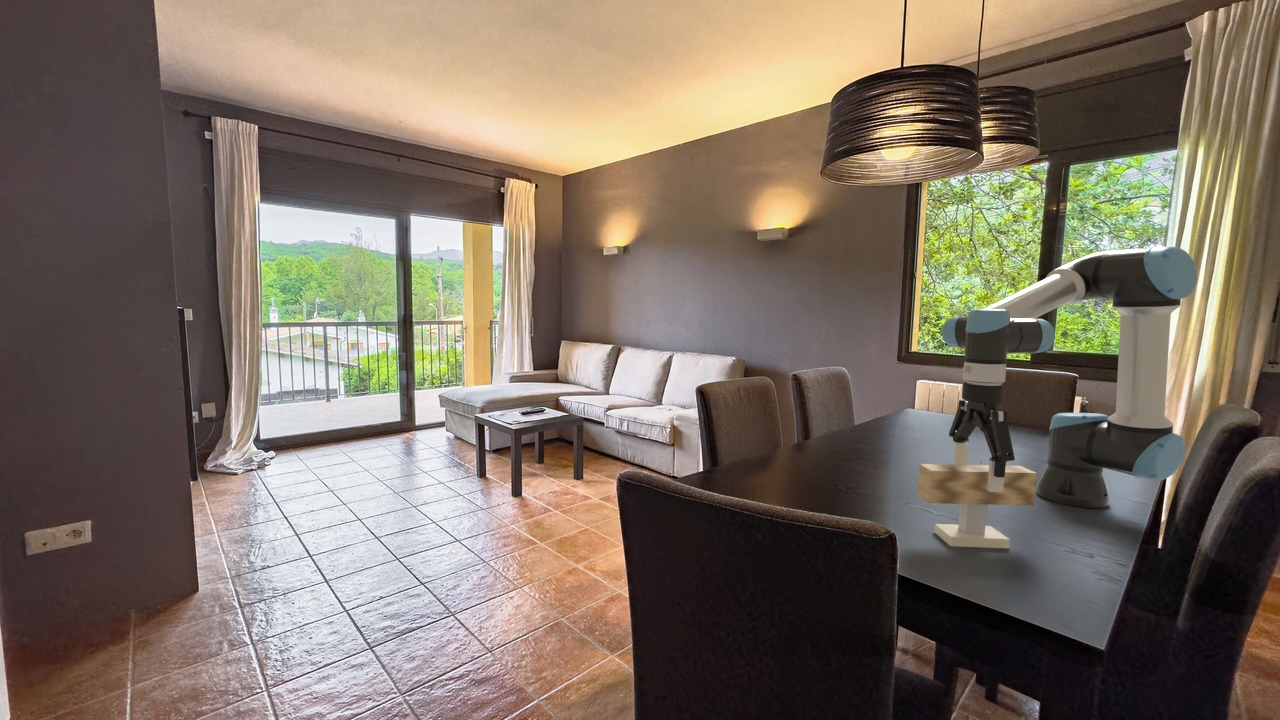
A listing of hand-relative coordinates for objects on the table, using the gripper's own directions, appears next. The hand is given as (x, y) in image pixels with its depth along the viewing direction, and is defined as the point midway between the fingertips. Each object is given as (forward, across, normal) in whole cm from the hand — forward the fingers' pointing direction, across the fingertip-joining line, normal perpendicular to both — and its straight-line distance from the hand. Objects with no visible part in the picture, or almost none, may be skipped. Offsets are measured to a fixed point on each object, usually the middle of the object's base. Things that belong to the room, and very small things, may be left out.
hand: (976, 480), depth 117 cm
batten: (+4, 0, 0) cm, 4 cm away
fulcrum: (+13, 0, 0) cm, 13 cm away
